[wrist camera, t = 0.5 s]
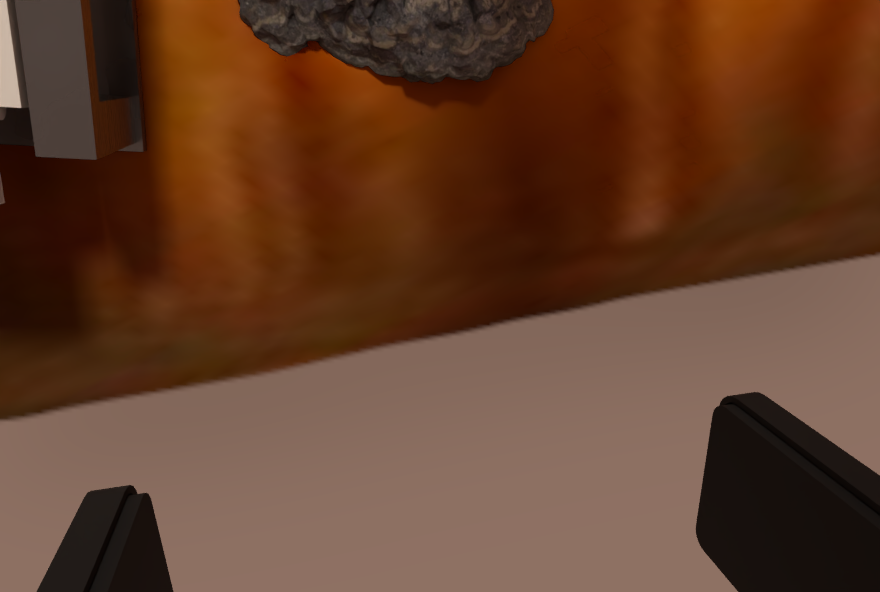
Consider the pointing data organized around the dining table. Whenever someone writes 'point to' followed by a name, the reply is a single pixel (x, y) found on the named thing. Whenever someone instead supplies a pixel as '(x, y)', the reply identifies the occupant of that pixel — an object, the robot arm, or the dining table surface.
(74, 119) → the trapdoor frame
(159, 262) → the dining table surface
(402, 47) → the grey fossil rock
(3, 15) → the trapdoor
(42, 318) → the dining table surface
